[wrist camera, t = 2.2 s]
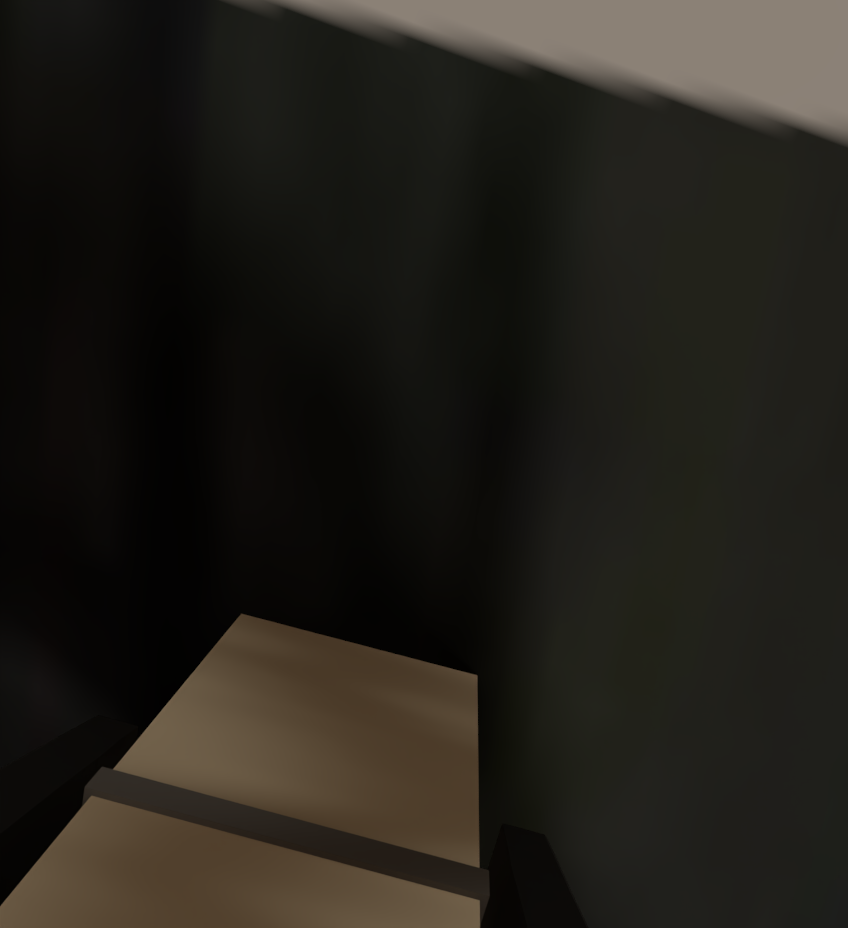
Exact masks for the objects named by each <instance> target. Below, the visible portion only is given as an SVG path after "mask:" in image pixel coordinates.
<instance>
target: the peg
mask: <svg viewBox="0 0 848 928" xmlns="http://www.w3.org/2000/svg"><path fill="white" fill-rule="evenodd" d="M489 897H490V888H489V870H485V869H482V868H479V786H478V694H477V675H474V674H470V673H466V672H462V671H459V670H455V669H451V668H447V667H443V666H439V665H436V664H432V663H428V662H424V661H420V660H417V659H413V658H409V657H405V656H401V655H397V654H394V653H390V652H386V651H382V650H378V649H374V648H371V647H367V646H363V645H359V644H355V643H351V642H348V641H344V640H340V639H336V638H332V637H329V636H325V635H321V634H317V633H313V632H309V631H306V630H302V629H298V628H294V627H290V626H286V625H283V624H279V623H275V622H271V621H267V620H264V619H260V618H256V617H252V616H248V615H244V614H241V615H240V616H239V617H238V618H237V619H236V621H235V622H234V623H233V624H232V626H231V627H230V628H229V629H228V630H227V632H226V633H225V634H224V635H223V636H222V638H221V639H220V640H219V641H218V643H217V644H216V645H215V646H214V647H213V649H212V650H211V651H210V652H209V653H208V655H207V656H206V657H205V658H204V660H203V661H202V662H201V663H200V664H199V666H198V667H197V668H196V669H195V670H194V672H193V673H192V674H191V675H190V677H189V678H188V679H187V680H186V681H185V683H184V684H183V685H182V686H181V687H180V689H179V690H178V691H177V692H176V693H175V695H174V696H173V697H172V698H171V700H170V701H169V702H168V703H167V704H166V706H165V707H164V708H163V709H162V710H161V712H160V713H159V714H158V715H157V717H156V718H155V719H154V720H153V721H152V723H151V724H150V725H149V726H148V727H147V729H146V730H145V731H144V732H143V734H142V735H141V736H140V737H139V738H138V740H137V741H136V742H135V743H134V744H133V746H132V747H131V748H130V749H129V751H128V752H127V753H126V754H125V755H124V757H123V758H122V759H121V760H120V761H119V763H118V764H117V765H116V766H115V768H114V769H109V768H106V767H101V768H100V770H99V771H98V772H97V773H96V774H95V775H94V777H93V778H92V779H91V780H90V781H89V782H88V784H87V785H86V786H85V788H84V796H83V803H82V808H81V809H80V810H79V811H78V812H77V814H76V815H75V816H74V817H73V819H72V820H71V821H70V822H69V823H68V825H67V826H66V827H65V828H64V829H63V831H62V832H61V833H60V834H59V836H58V837H57V838H56V839H55V840H54V842H53V843H52V844H51V845H50V846H49V848H48V849H47V850H46V851H45V853H44V854H43V855H42V856H41V857H40V859H39V860H38V861H37V862H36V863H35V865H34V866H33V867H32V868H31V870H30V871H29V872H28V873H27V874H26V876H25V877H24V878H23V879H22V880H21V882H20V883H19V884H18V885H17V887H16V888H15V889H14V890H13V891H12V893H11V894H10V895H9V896H8V897H7V899H6V900H5V901H4V902H3V904H2V905H1V906H0V928H480V925H481V922H482V918H483V915H484V912H485V909H486V906H487V903H488V900H489Z"/></svg>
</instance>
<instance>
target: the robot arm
mask: <svg viewBox="0 0 848 928" xmlns="http://www.w3.org/2000/svg"><path fill="white" fill-rule="evenodd" d="M137 733H138V726H136V725H133V724H129V723H125V722H121V721H118V720H114V719H110V718H107V717H103V716H99V715H98V716H96V717H94V718H92V719H90V720H88V721H86V722H85V723H83V724H81V725H79V726H77V727H75V728H74V729H72V730H70V731H68V732H66V733H64V734H63V735H61V736H59V737H57V738H55V739H54V740H52V741H50V742H48V743H46V744H45V745H43V746H41V747H39V748H37V749H36V750H34V751H32V752H30V753H28V754H27V755H25V756H23V757H21V758H19V759H18V760H16V761H14V762H12V763H10V764H9V765H7V766H5V767H3V768H1V769H0V906H1V905H2V904H3V902H4V901H5V900H6V899H7V897H8V896H9V895H10V894H11V893H12V891H13V890H14V889H15V888H16V887H17V885H18V884H19V883H20V882H21V880H22V879H23V878H24V877H25V876H26V874H27V873H28V872H29V871H30V870H31V868H32V867H33V866H34V865H35V863H36V862H37V861H38V860H39V859H40V857H41V856H42V855H43V854H44V853H45V851H46V850H47V849H48V848H49V846H50V845H51V844H52V843H53V842H54V840H55V839H56V838H57V837H58V836H59V834H60V833H61V832H62V831H63V829H64V828H65V827H66V826H67V825H68V823H69V822H70V821H71V820H72V819H73V817H74V816H75V815H76V814H77V812H78V811H79V810H80V809H81V808H82V803H83V796H84V788H85V786H86V785H87V784H88V782H89V781H90V780H91V779H92V778H93V777H94V775H95V774H96V773H97V772H98V771H99V770H100V768H101V767H106V768H109V769H114V768H115V766H116V765H117V764H118V763H119V761H120V760H121V759H122V758H123V757H124V755H125V754H126V753H127V752H128V751H129V749H130V748H131V747H132V746H133V744H134V743H135V742H136V739H137ZM488 870H489V888H490V897H489V900H488V903H487V906H486V909H485V912H484V915H483V918H482V922H481V925H480V928H588V926H587V924H586V921H585V919H584V917H583V915H582V913H581V911H580V909H579V907H578V905H577V902H576V900H575V898H574V896H573V894H572V892H571V889H570V887H569V885H568V883H567V881H566V878H565V876H564V874H563V872H562V870H561V867H560V865H559V863H558V861H557V859H556V856H555V854H554V852H553V850H552V848H551V845H550V843H549V841H548V840H547V838H546V836H545V835H544V834H540V833H537V832H533V831H529V830H525V829H522V828H518V827H514V826H510V825H507V824H503V823H502V826H501V829H500V833H499V836H498V839H497V842H496V845H495V848H494V852H493V855H492V858H491V861H490V864H489V867H488Z"/></svg>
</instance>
